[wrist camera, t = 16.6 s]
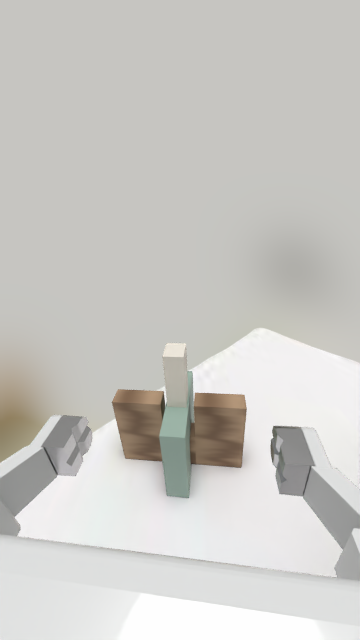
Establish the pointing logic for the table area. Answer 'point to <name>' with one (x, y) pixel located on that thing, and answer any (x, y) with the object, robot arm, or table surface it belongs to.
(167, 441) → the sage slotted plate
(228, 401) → the walnut slotted board
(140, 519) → the table surface
